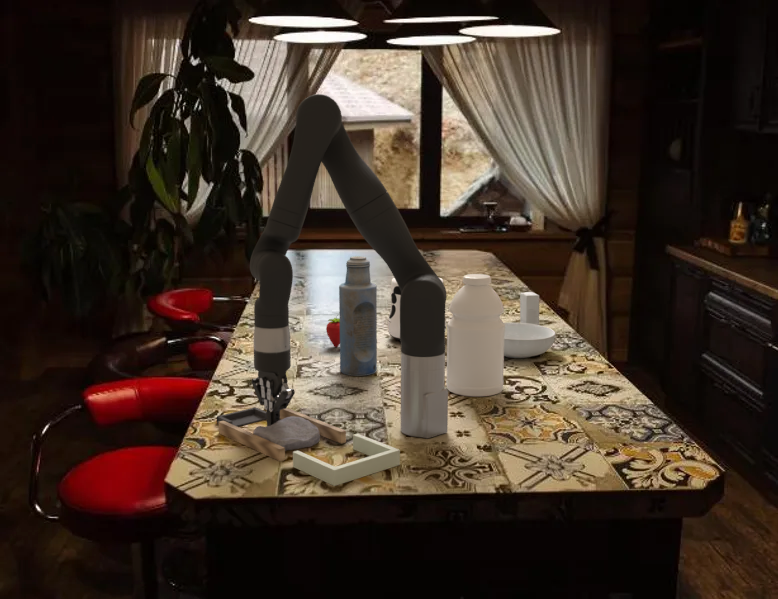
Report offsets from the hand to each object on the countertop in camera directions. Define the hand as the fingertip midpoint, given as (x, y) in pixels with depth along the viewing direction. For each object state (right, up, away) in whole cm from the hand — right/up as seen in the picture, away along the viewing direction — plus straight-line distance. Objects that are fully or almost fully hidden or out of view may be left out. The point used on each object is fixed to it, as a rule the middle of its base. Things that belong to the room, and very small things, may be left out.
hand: (273, 426), depth 202 cm
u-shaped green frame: (+16, -5, -17) cm, 24 cm away
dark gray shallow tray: (-8, 0, +9) cm, 12 cm away
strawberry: (+9, +13, +74) cm, 76 cm away
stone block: (+4, -3, -5) cm, 7 cm away
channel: (+2, -2, -2) cm, 3 cm away
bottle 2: (+45, +5, +33) cm, 56 cm away
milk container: (+32, +15, +84) cm, 91 cm away
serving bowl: (+60, +11, +67) cm, 91 cm away
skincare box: (+67, +16, +93) cm, 116 cm away
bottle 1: (+16, +8, +49) cm, 52 cm away
